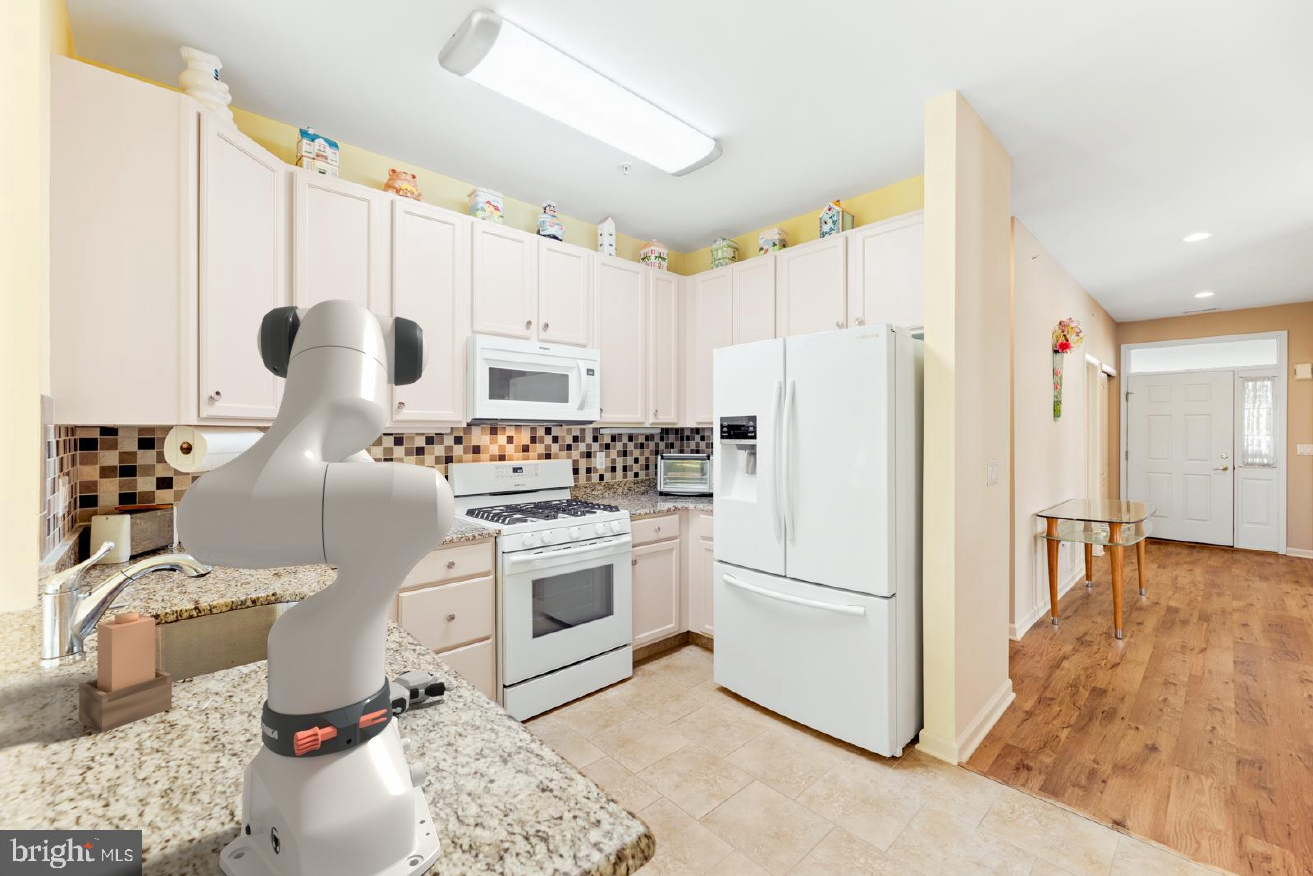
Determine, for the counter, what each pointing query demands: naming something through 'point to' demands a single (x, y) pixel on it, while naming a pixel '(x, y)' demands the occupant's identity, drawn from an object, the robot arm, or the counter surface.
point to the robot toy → (415, 689)
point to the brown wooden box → (124, 702)
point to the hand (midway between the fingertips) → (218, 529)
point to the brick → (125, 651)
